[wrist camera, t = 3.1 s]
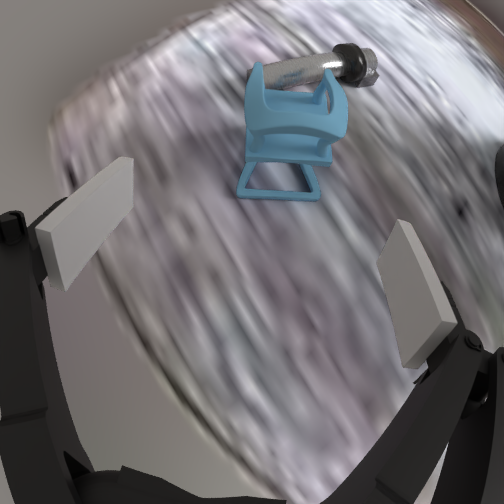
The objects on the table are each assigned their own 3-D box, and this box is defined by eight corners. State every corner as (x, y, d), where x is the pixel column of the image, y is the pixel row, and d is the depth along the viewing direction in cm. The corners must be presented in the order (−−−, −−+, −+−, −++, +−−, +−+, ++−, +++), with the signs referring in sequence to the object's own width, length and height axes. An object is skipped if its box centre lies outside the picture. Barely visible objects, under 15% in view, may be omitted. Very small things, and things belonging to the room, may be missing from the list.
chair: (314, 127, 30) (348, 49, 18) (318, 202, 29) (365, 144, 17) (239, 122, 30) (241, 38, 18) (236, 198, 29) (234, 134, 17)
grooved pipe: (354, 58, 32) (366, 34, 27) (373, 85, 31) (388, 62, 27) (246, 80, 31) (247, 52, 26) (262, 111, 30) (266, 84, 25)
